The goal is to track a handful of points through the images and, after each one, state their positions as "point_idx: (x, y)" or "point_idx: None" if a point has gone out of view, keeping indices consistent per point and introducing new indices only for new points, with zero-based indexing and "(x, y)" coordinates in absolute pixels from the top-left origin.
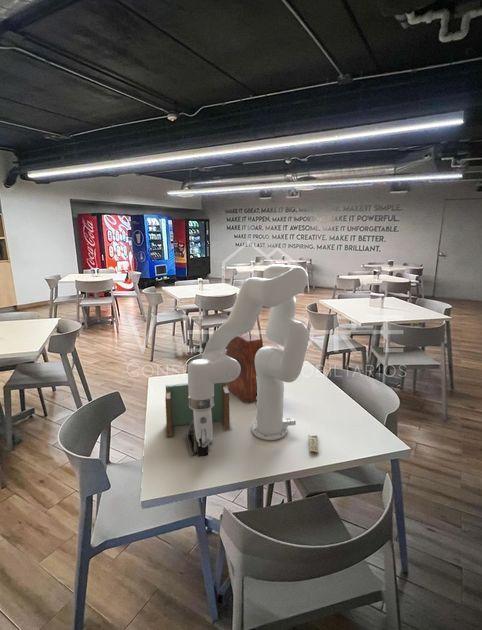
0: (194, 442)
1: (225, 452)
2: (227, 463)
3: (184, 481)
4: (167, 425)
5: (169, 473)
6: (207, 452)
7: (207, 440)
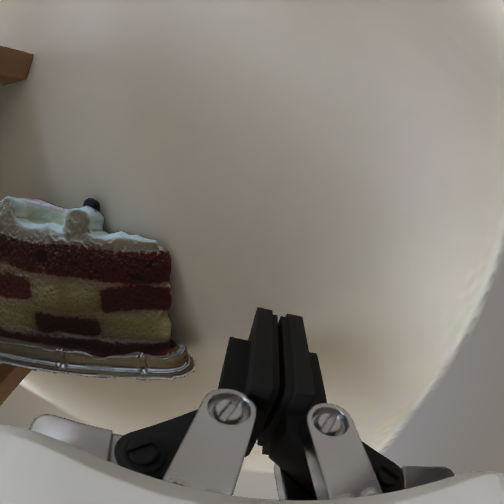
0: (126, 373)
1: (244, 124)
2: (382, 170)
3: (365, 412)
4: (4, 398)
5: None
6: (303, 337)
7: (374, 472)
